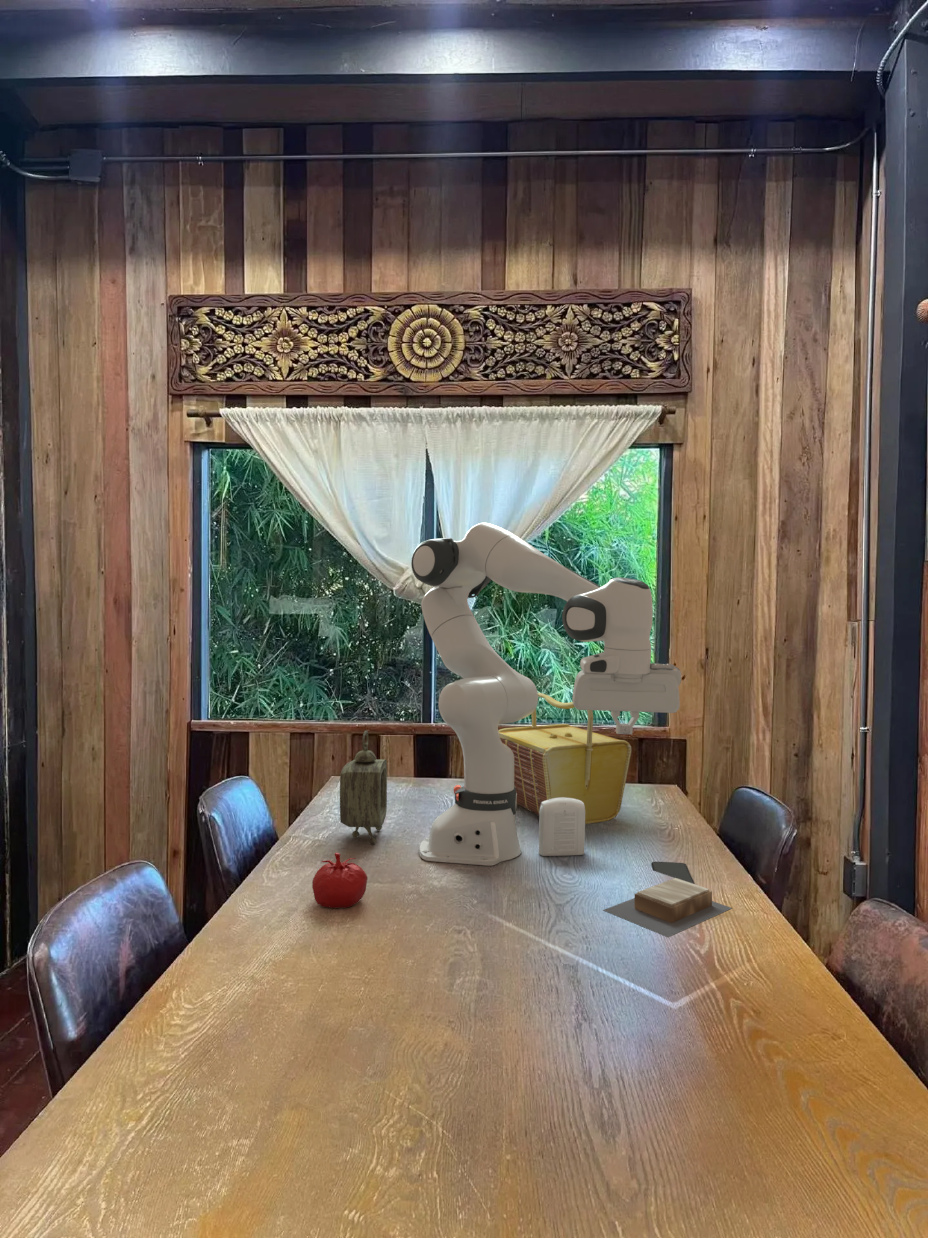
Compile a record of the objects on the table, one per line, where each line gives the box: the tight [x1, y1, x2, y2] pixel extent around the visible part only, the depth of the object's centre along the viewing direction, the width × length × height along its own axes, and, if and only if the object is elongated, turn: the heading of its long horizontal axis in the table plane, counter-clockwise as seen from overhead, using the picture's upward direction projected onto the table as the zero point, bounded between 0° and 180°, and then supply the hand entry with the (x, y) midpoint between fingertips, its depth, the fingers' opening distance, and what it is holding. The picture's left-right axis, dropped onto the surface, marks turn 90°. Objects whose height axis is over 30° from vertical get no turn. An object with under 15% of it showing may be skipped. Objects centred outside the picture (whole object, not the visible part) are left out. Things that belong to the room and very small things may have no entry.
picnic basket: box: [498, 692, 632, 825], centre depth 204 cm, size 29×26×30 cm
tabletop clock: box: [339, 730, 388, 846], centre depth 182 cm, size 14×9×25 cm, turn 179°
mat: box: [602, 897, 733, 938], centre depth 140 cm, size 19×14×1 cm
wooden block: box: [634, 878, 713, 923], centre depth 141 cm, size 3×8×12 cm
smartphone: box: [650, 861, 696, 885], centre depth 158 cm, size 7×1×15 cm
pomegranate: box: [311, 852, 368, 909], centre depth 144 cm, size 10×10×9 cm
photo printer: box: [538, 798, 586, 857], centre depth 172 cm, size 10×4×12 cm, turn 98°
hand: (624, 733), depth 151 cm, fingers closed
